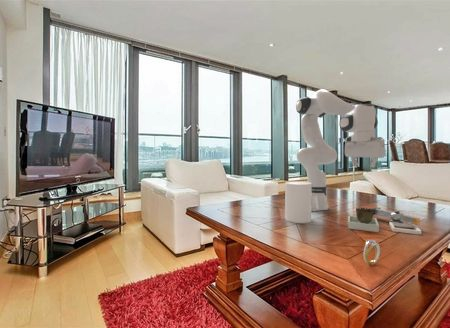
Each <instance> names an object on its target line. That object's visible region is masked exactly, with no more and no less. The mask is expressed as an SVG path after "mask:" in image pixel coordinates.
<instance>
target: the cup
mask: <svg viewBox="0 0 450 328" xmlns="http://www.w3.org/2000/svg"><path fill="white" fill-rule="evenodd" d="M355 212H356V216H357V219H358V221H359V222H361V223H365V224H369V223H370V222H371V221H372V219H373V218H374V215H373V212H374V210H373V211H372V209H370V208H367V207H366V208H365V207H358V208H357V207H356V208H355Z"/></svg>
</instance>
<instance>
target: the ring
mask: <svg viewBox="0 0 450 328" xmlns="http://www.w3.org/2000/svg"><path fill="white" fill-rule="evenodd" d="M376 241H377V240H374V239H367V241H366V242H365V243H364V244H365V245H364V249H363V255H362V256H363V260H364V262H365V263H366V264H369V265H372V266H373V265H374V264H376V263H377V261H378V260H379V258H380V253H381V249H380V244H379V243H378V242H376ZM373 248H374V251H375V253H374V258H373V259H372V260H369V259H368V258H369V254H370V252H371V250H372V249H373Z"/></svg>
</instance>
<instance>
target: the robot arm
mask: <svg viewBox="0 0 450 328" xmlns="http://www.w3.org/2000/svg"><path fill="white" fill-rule="evenodd" d="M295 108H296V112H297V114H300V115H302V116H301V119H300V124H301V132H302V137H303V141H304V143H306V144H307V145H308V147H303V148H300V149H299V150H298V151H297V154H296V159H297V162H299V164H301V166H303V168H304V169H305V171H306V176H307V182H311V183H312V194H311V212H312V211H313V212H318V211H327V210H329V209H330V208H329V205H328V200H327V194H328V187H327V174H326V173H325V171H323V170H321V169H320V168H319V165H330V164H333V163H335V162H336V161H337V158H338V153H337V152H338V151H337V150H336V149H335V148H334V147H331V145H329V143H327V142H326V140H325V139H324V138H323V135H322V131H321V128H320V125H319V120H318V119H319V118H323V117H324V116H326V114H327V115H330V116H331V115H332V116H341V117H340V119H339V127H340V128H339V129H341V131H342V132H345V133H352V135H350V136H348V137H346V138H345V140H344V141H345V144H344V155H345V157H347V158H350V160H351V162H352V166H353V167H359V162H357V159H358V158H371V163H369V168H375V167H376V163H377V162H378V160H379V159H381V158H382V159H383V158H385V157H386V156H387V154H386V153H387V152H386V145H385V139H384V138H383V137H381V136H380V137H379V136H378V137H377V136H376V128H377V126H378V125H379V121H378V117H377V116H376V110H375V106H374V105H373V104H369V103H359V104H355V106H354V105H352V104H350V103H349V102H347V101H345V100H344V99H341V98H340V97H338V96H337V95H335V94H334V93H332V92H331V91H329V90H326V89H322V88H321V89H318V90H317V91H315V93H314V94H313V96H312V97H309V96H306V97H300V98H299V99H298V100H297V101H296V106H295ZM309 146H310V147H309ZM378 158H379V159H378Z"/></svg>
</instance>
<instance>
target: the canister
mask: <svg viewBox="0 0 450 328" xmlns="http://www.w3.org/2000/svg"><path fill="white" fill-rule="evenodd" d="M284 189H285V191H284V192H285V197H284V199H285V200H284V202H285V203H284V205H285V206H284V207H285V208H284V209H285V210H284V211H285V213H284V214H285V215H284V216H285V218H284V219H285V221H287V222H290V223H295V224H296V223H297V224H307V223H310V222H312V211H311V194H312V183H311V182H308V181H303V180H293V181H291V180H290V181H285V186H284Z"/></svg>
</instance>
